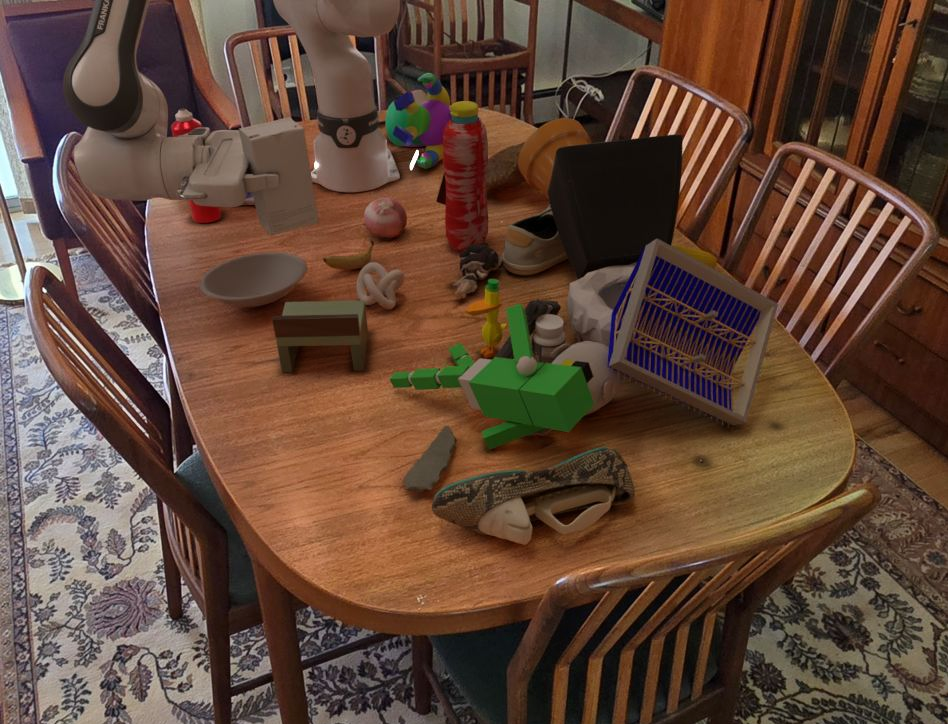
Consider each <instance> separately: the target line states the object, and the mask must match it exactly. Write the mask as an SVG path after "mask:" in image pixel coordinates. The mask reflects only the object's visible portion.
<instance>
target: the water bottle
mask: <svg viewBox="0 0 948 724" xmlns="http://www.w3.org/2000/svg"><path fill="white" fill-rule="evenodd" d="M450 110H451V112H450V114H451V115H452V117H451V118H450V120H449V122H448V123H447V125H446V127H445V129H444V131H443V158H442V165H443V176H442V178H441V183H440V185H439V186H440V187H439V190H438V194H437V198H436V200H435V201H436V203H438V204H441V205H444V206H445V212H444V213H445V215H444V227H445V237H446V239H447V242H448V244H449V245H450V247H451V248H452V250H454V251H456V252H459V253H461V252H463V251H464V250H465V249H467V248H468V246H470V245H471V244H479V243H486V240H487V237H488V234H489V209H488V196H487V192H486V177H487V166H488V159H489V140H488V131H487V128H486V125H485V124H484V123H483V121H482V118H481V117H479V104H477V103H476V102H475V101H470V100H461V101H455V102H454V103H452V104H451V105H450Z"/></svg>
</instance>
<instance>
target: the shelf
mask: <svg viewBox="0 0 948 724" xmlns="http://www.w3.org/2000/svg"><path fill="white" fill-rule="evenodd" d="M366 309H367V308H366V305H365V301H364V300H323V301H322V300H321V301H319V300H317V301H314V300H313V301H285V302H284V306H283V310H282V313H281V315H273V316H272V318H271V321H272V327H273V332H274V336H275V342H276V346H277V352H278V358H279V363H280V368H281V372H282V373H293V370H294V366H295V362H296V359H297V354H298V350H299V347H310V346H311V347H313V346H315V347H316V346H350V352H351V353H350V354H351V361H352V370H353V371H354V372H358V371H359V372H361V371H365V364H366V356H367V347H368V339H369V328H368V326H369V325H368V319H367V317H368V316H367V310H366Z"/></svg>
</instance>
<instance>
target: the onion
mask: <svg viewBox="0 0 948 724" xmlns="http://www.w3.org/2000/svg"><path fill="white" fill-rule="evenodd" d="M407 224H408V214H407V211H406V209H405V207H404V206H403V205H402V204H401V202H399V201H398V200H397V199H395V198H391V197H381V198H377V199H374V200H373V201H371V202H370V203H369V204H368V205H367V206H366V208H365V210H364V214H363V225H364V226H365V228H366V230H367V231H368V233H370V234H371V235H372V236H374V237H376V238H378V239H380V240H383V241H384V242H386V241H389V240H392V239H395V238H396V237H399V235H400V234H402V233H403V232H404V230H405V229H406V227H407V226H408V225H407Z"/></svg>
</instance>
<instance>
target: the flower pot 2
mask: <svg viewBox="0 0 948 724" xmlns="http://www.w3.org/2000/svg"><path fill="white" fill-rule="evenodd" d="M682 168H683V135H682V134H681V133H679V134H678V133H674V134H665V135H655V136H646V137H637V138H627V139H618V140H609V141H600V142H591V143H590V144H581V145H572V146H564V147H560V148H558V149H557V151H556V155H555V160H554V166H553V170H552V175H551V179H550V184H549V188H548V197H547V198H548V202H549V205H550V206H551V210H552V213H553V217H554V220H555V223H556V227H557V230H558V233H559V236H560V238H561V241H562V244H563V247H564V249H565V252H566V254H567V256H568V259H567V260H568V261H569V263H570V265H571V268H572V270H573V273H574V274H575V276H576V278H577V280H578V279H580V278H582V277H584V276H585V275H586V274H587V273H588V272H592V271H596V270H599V269H601V268H605V267H608V266H615V265H630V264H632V263H635V262H637V261H638V259H639V257H640V255H641V253H642V251H643V249H644V247H646V245H648V244H649V243H651V242H652V241H654V240H655V239H659V240H661V241H663V242H665V243H667V244H668V245H670V246H671V245H673V239H674V234H675V229H676V224H677V216H678V209H679V202H680V194H681V193H680V192H681V185H682V184H681V182H682Z"/></svg>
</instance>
